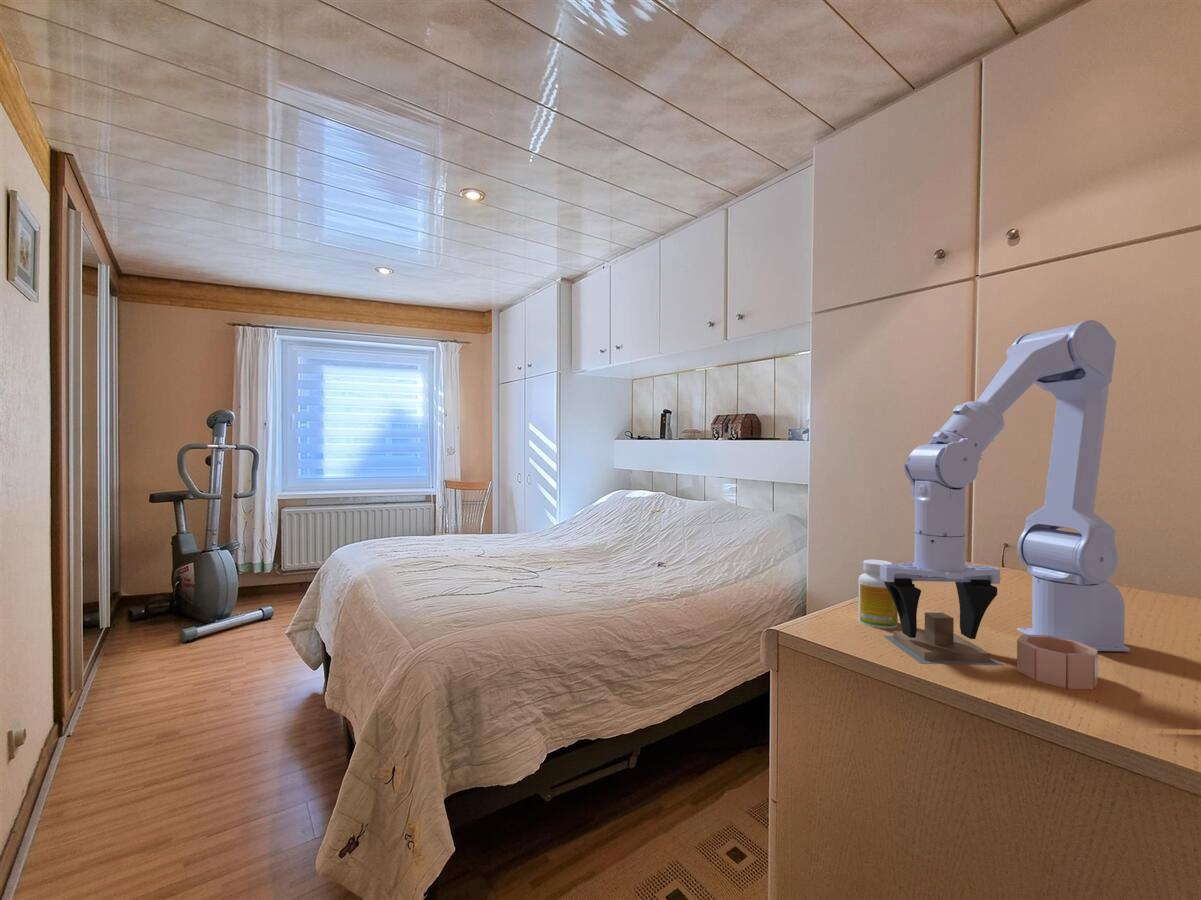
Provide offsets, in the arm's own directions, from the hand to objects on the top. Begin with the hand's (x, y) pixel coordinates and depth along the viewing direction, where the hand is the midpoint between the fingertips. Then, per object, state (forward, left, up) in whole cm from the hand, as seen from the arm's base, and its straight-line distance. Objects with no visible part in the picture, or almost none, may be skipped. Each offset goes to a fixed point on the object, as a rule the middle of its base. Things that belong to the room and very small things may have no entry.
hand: (938, 636), depth 73 cm
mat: (0, 0, -2) cm, 2 cm away
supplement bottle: (+3, -11, -2) cm, 12 cm away
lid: (0, 0, -2) cm, 2 cm away
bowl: (-9, +8, -2) cm, 12 cm away
